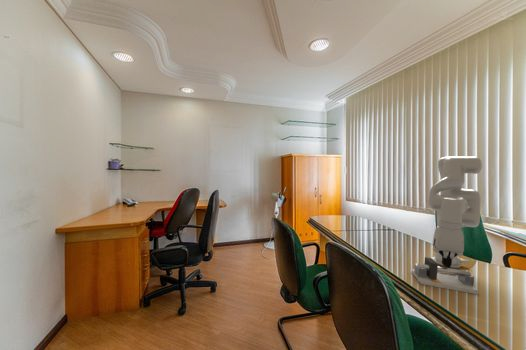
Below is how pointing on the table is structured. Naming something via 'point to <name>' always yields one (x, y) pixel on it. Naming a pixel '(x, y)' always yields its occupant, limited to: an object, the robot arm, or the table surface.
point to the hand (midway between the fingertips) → (446, 266)
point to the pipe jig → (446, 278)
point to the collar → (431, 268)
